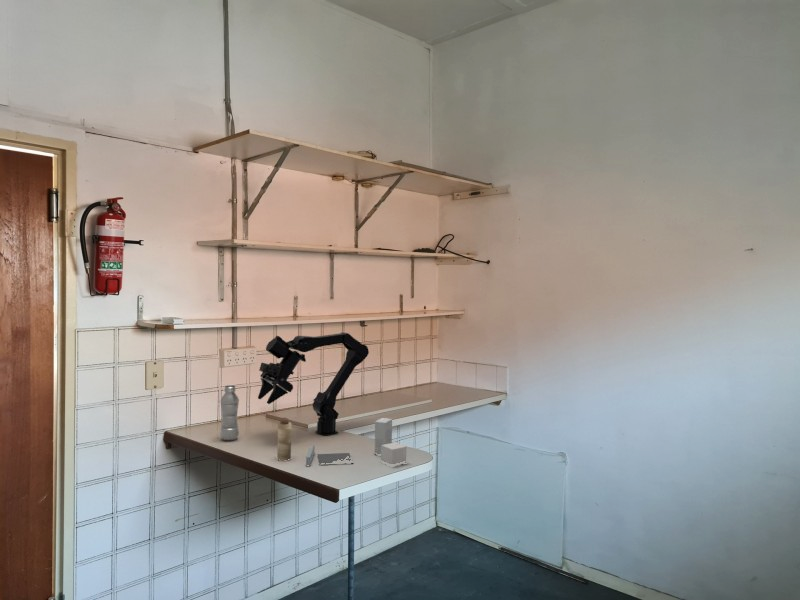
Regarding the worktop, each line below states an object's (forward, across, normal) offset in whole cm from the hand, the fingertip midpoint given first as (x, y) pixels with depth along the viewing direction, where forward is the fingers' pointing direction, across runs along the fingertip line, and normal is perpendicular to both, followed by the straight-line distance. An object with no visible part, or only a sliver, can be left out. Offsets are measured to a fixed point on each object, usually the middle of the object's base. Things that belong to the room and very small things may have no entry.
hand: (263, 401), depth 214 cm
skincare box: (-6, +34, +34) cm, 48 cm away
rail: (+8, +27, +14) cm, 32 cm away
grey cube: (-4, +44, +32) cm, 55 cm away
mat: (+4, +31, +20) cm, 37 cm away
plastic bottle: (+18, -9, +1) cm, 20 cm away
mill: (+13, +22, +8) cm, 27 cm away
